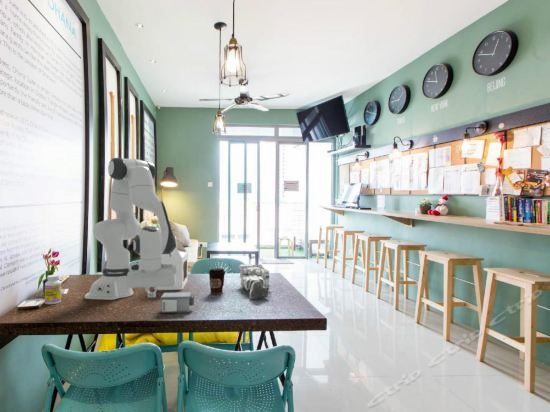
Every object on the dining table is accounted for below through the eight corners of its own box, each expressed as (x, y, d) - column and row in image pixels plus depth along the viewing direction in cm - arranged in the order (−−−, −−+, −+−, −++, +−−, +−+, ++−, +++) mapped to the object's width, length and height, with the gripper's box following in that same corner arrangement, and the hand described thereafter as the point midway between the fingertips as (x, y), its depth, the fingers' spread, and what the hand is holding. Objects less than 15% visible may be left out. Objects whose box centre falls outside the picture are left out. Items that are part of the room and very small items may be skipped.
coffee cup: (221, 296, 185) (221, 270, 184) (206, 295, 186) (206, 270, 186) (227, 291, 193) (227, 267, 193) (212, 290, 195) (212, 267, 195)
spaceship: (263, 281, 213) (264, 261, 212) (278, 303, 179) (279, 280, 178) (236, 282, 209) (237, 262, 208) (247, 305, 176) (247, 281, 174)
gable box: (165, 281, 217) (165, 235, 217) (187, 280, 219) (187, 235, 218) (157, 290, 195) (157, 238, 195) (182, 289, 197) (182, 238, 196)
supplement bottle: (42, 305, 167) (42, 277, 166) (48, 301, 173) (48, 274, 173) (58, 304, 168) (58, 276, 168) (63, 300, 174) (63, 274, 174)
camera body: (160, 313, 156) (160, 297, 155) (164, 308, 163) (164, 292, 163) (192, 312, 157) (192, 296, 157) (194, 307, 164) (194, 292, 164)
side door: (161, 312, 154) (161, 301, 154) (163, 310, 156) (163, 299, 156) (176, 311, 154) (176, 300, 154) (177, 310, 156) (177, 299, 156)
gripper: (177, 262, 158) (177, 294, 158) (129, 264, 156) (129, 296, 156) (175, 265, 152) (175, 297, 152) (124, 266, 150) (125, 299, 150)
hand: (151, 297), depth 154 cm, fingers closed
